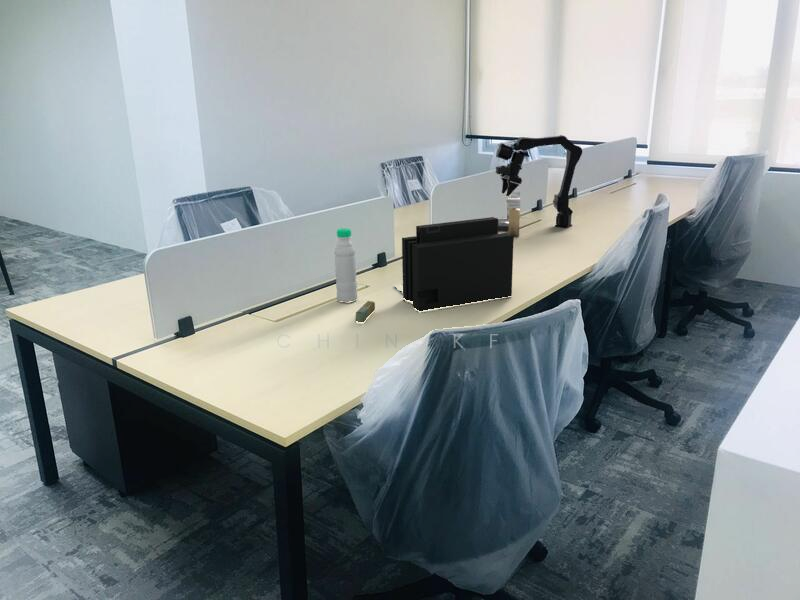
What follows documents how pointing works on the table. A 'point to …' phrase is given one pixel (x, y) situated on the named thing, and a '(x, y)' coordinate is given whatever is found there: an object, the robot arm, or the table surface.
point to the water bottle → (345, 267)
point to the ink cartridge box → (513, 202)
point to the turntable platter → (503, 222)
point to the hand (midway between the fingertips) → (504, 194)
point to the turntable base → (502, 228)
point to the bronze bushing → (514, 221)
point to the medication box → (365, 311)
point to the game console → (457, 263)
